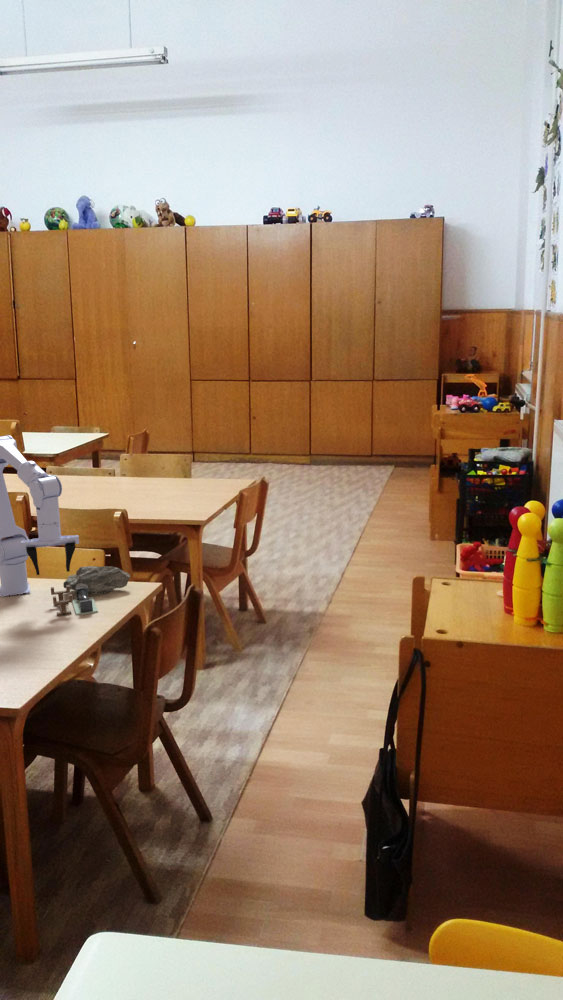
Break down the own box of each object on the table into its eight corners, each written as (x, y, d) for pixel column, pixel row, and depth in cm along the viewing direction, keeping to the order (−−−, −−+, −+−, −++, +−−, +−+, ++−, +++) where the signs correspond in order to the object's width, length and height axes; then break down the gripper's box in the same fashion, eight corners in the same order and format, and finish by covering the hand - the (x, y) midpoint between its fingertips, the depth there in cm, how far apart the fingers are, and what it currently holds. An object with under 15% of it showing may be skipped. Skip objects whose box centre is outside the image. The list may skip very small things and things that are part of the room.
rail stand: (52, 605, 216) (50, 587, 215) (70, 602, 218) (69, 585, 217) (54, 616, 207) (53, 597, 206) (73, 613, 209) (72, 595, 208)
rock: (66, 593, 218) (62, 560, 222) (65, 607, 226) (61, 575, 230) (133, 585, 224) (128, 553, 228) (130, 599, 232) (125, 568, 236)
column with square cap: (76, 599, 219) (75, 588, 219) (87, 597, 220) (87, 587, 219) (81, 612, 208) (80, 601, 207) (92, 611, 209) (92, 600, 208)
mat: (72, 601, 219) (71, 599, 219) (92, 598, 221) (92, 597, 221) (76, 615, 208) (76, 613, 208) (98, 612, 210) (98, 610, 209)
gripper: (20, 528, 204) (25, 579, 207) (78, 522, 209) (82, 573, 212) (19, 522, 211) (24, 572, 214) (76, 517, 216) (79, 566, 218)
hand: (53, 572), depth 213 cm, fingers open, 7 cm apart
